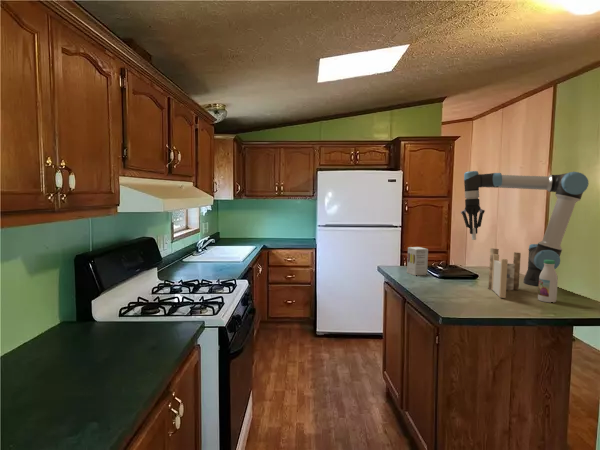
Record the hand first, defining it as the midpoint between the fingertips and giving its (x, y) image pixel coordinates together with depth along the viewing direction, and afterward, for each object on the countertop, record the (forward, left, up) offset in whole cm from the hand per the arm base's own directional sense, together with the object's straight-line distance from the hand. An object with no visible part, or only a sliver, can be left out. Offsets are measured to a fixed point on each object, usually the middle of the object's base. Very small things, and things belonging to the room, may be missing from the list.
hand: (473, 239), depth 230 cm
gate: (-7, +26, -25) cm, 36 cm away
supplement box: (+28, -21, -26) cm, 43 cm away
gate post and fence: (-13, +13, -25) cm, 31 cm away
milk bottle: (-26, +34, -26) cm, 50 cm away
